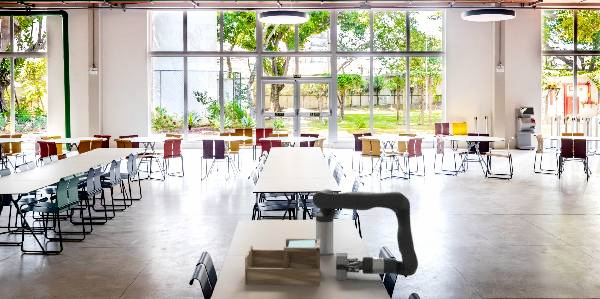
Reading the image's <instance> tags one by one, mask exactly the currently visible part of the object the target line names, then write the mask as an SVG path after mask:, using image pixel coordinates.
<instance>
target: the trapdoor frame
mask: <svg viewBox="0 0 600 299" xmlns="http://www.w3.org/2000/svg"><path fill="white" fill-rule="evenodd" d="M295 240H315V247H288V245H289V241H295ZM316 243H317V245H316ZM253 246H254V245H253V244H250V246H249V248H248V250H247V252H246V255H245V256H244V269H245V270H244V283H245V284H246V285H248V284H249V285H295V286H296V285H299V286H300V285H301V286H302V285H306V286H310V285H311V286H312V285H313V286H319V285H320V283H321V281H320V279H321V276H320V273H321V254H320V239H316V238H286V239H285V246H283V249H272V248H271V249H269V248H268V249H267V248H265V249H261V248H260V249H259V248H257V249H256V248H254V247H253Z"/></svg>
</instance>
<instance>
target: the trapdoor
mask: <svg viewBox="0 0 600 299" xmlns="http://www.w3.org/2000/svg"><path fill="white" fill-rule="evenodd" d="M288 247H316V243H315V240H295V241H289V245H288Z"/></svg>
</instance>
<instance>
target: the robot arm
mask: <svg viewBox="0 0 600 299" xmlns="http://www.w3.org/2000/svg"><path fill="white" fill-rule="evenodd" d="M312 203H313V205H314V206H315V207H316V208H318V209H319V210H318V212H317V213H316V215H315V239H320V255H324V256H327V255H328V256H329V255H332V254H334V219H335V218H334V217H335V215H336V209H344V210H351V211H352V210H354V211H368V210H371V209H375V208H384V209H389V210H391V211H392V212H393V213H394V214H395V216H396V220H397V233H396V238H397V240H396V241H397V245H398V251H399V254H400V255H401V260H396V258H392V257H378V256H375V257H374V256H372V257H371V256H370V257H369V256H363V257H362V260H359V258H347V264H345V266H344V265H342V264H337V265H336V264H335V270H336V269H337V270H344V269H345V271H346V272H347V273H357V274H358V273H360V271H362V274H363V275H382V274H389V275H391V274H393V275H394V274H395V275H399V276H404V277H411V276H413V275H415V273H416V272H417V271H418V270H417V269H418V268H419V267H418V266H419V262H418V257H417V254H416V250H415V244H414V239H413V234H412V227H411V226H412V224H411V203H410V200H409V198H408V197H407V196H406V195H404V194H403V193H402V192H400V191H388V192H374V191H373V192H372V191H348V192H339V193H335V192H334V191H333V190H332V189H322V190H319V191H317V192H316V193H314V195H313V196H312ZM316 245H317V243H315V246H316Z"/></svg>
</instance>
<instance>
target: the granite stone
mask: <svg viewBox="0 0 600 299" xmlns="http://www.w3.org/2000/svg"><path fill="white" fill-rule="evenodd" d="M347 259H348V252H336V253H335V266H336V265H337V264H342V265H344V266H345V264H347ZM335 279H336V281H340V280H341V281H343V280H345V281H347V280H348V272H346V271H345V269H344V270H337V269H336V268H335Z"/></svg>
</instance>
